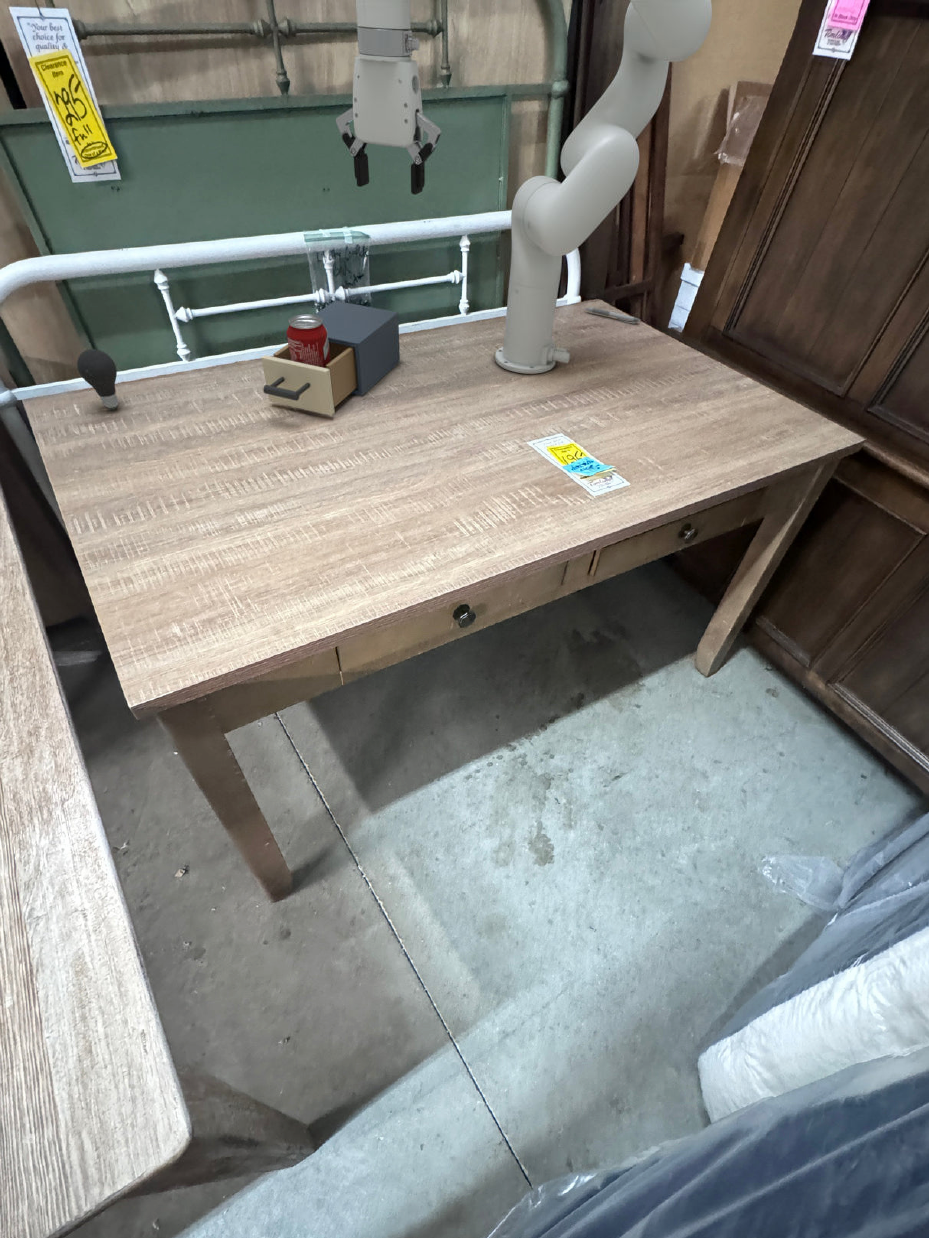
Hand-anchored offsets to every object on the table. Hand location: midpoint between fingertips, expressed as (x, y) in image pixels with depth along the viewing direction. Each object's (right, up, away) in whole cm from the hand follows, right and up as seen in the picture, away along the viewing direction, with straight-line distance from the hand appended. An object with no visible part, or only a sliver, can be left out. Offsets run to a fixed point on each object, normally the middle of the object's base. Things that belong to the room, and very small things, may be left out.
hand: (389, 188), depth 100 cm
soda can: (-15, -29, +10) cm, 34 cm away
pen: (+48, +2, +47) cm, 67 cm away
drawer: (-15, -30, +11) cm, 35 cm away
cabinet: (-10, -21, +21) cm, 32 cm away
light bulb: (-49, -34, +7) cm, 60 cm away
